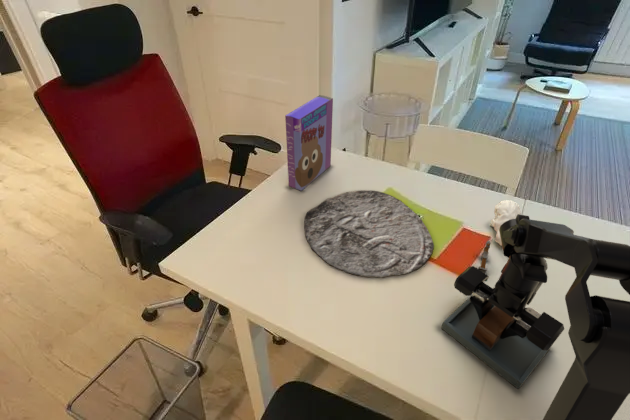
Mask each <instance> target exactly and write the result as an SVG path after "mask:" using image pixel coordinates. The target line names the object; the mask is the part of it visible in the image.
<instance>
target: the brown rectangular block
mask: <svg viewBox="0 0 630 420" xmlns="http://www.w3.org/2000/svg"><path fill="white" fill-rule="evenodd" d="M514 321H515V318H513V317H511V316H509V315H508V314H506V313H505V312H503V311H502V310H501V309H499V308H498V307H496V306H494V307H493V308H492V309H491V310H490V311H489V312H488V313H487V314H486V315H485V316H484V317H483V318H482V319H481V320H480V321H479V322H478V324H477V326H476V328H475V330H474V332H473V334H472V338H473V339H475V340H476V341H477V342H478V343H480V344H481V345H482V346H484V347H485V348H486V349H487V350H489V351H490V350H491V349H492V348H493V347H494V346H495V344H496V343H497V342H498V341H499V340H500V339H501V338H500V337H501V335H502V334H503V333H504V332H505V330H506V329H507V328H508V327H509V326H510V325H511V324H512V323H513V322H514Z"/></svg>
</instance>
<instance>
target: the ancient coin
mask: <svg viewBox="0 0 630 420" xmlns="http://www.w3.org/2000/svg"><path fill="white" fill-rule="evenodd" d="M303 223H304V224H303V225H304V226H303V228H304V234H305V239H306V241H307V243H308V244H309V245H310V248H311V250H312V251H313V252H314V253H315V254H316V255H318V257H320V259H322V260H323V261H324V262H325V263H327V264H328V265H330V266H332V267H333V268H336V269H338V270H340V271H343V272H345V273H348V274H351V275H355V276H361V277H365V278H385V277H389V276H402V275H406V274H409V273H411V272H415V271H417V270H418V269H420V268H421V267H422V266H424V265H425V264H426V263H427V262H428V261H429V259H430V258H431V256H432V255H433V251H434V247H435V244H434V241H433V238H432V236H431V233H430V231H429V230H428V227H427V226H426V224H425V223H424V221H423V220H422V219H421V217H420V216H419V215H418V213H415V211H413V209H411V208H410V207H409V206H407V205H406V204H405V203H404V202H402V200H400V199H399V198H396V197H395V196H394V195H391V194H388V193H385V192H382V191H378V190H369V189H368V190H367V189H365V190H361V189H360V190H352V191H346V192H343V193H340V194H337V195H334V196H332V197H328V198H326V199H325V200H323V201H322V202H321V203H319V204H318V205H316V206H314V207H312V208H311V209H309V210H308V211H306V213H305V216H304V222H303Z"/></svg>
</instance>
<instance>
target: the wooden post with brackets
mask: <svg viewBox="0 0 630 420" xmlns="http://www.w3.org/2000/svg"><path fill="white" fill-rule="evenodd" d="M491 243H492V242H491V240H487V241H486V242H485V246H484V247H483V252H482V253H481V263H480V266H478V268H477V269H479V270H480V271H482V272H483V273H485V274H486V272H487V270H488V269H487V268H486V266H487V265H486V264H487V260H488V257H489V249H490V248H491Z"/></svg>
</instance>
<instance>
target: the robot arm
mask: <svg viewBox="0 0 630 420" xmlns="http://www.w3.org/2000/svg"><path fill="white" fill-rule="evenodd" d="M499 231H500V237H501V242H502V246H501V248H502V253H503V256H504V257H506V258H507V261H506V263H505V264H504V265H503V267H502V269H501V271H500V273H501V274H500V275H499V278H498V280H497V281H496V282H495V284H494V287H491V286H490V285H488V284H487V283H486V282H487V281H488V280H489V279H490V275H488V274H487V273H486V272H485V273H484V272H482V271H480V270H479V269H478V268H477V267H475V266H474V265H471V266H468V267H467V268H466V269H465V270H464V271H463V272H461V273H460V274H458V276H457V277H456V279H455V280H454V282H453V286H454V289H456V290H457V291H459V292H460V293H461V294H462V295H464V296H466V297H469V298H470V299H469V298H468V299H469V300H470V302H472V303H473V305H474V307H475V309H476V312H477V314H478V317H479V320H481V319H482V318H483V317H484V316H485V315H486V314H487V313H488V312H489V311H490V309H491V306H492V304H493V305H495V306H496V307H498V308H499V309H501V310H502V311H503V312H505V313H506V314H508V315H509V316H511V317H513V318H515V319H516V320H515V321H514V322H513V323H512V324H511V325H510V326H509V327H508V328H507V329H506V330H505V332H504V333H503V334H502V335H501V337H500V338H501V339H504V338H507V337H510V336H519V337H521V338H525V337H526V336H527V338H528V340H529V341H531V342H532V343H533V344H535V345H536V346H538V347H539V348H540V349H542V350H545V351H548V352H549V350H550V349H551V348H552V346H553V345H554V343H556V341H557V340H558V338H560V336H561V334H562V333H563V332H564V331H565V326H564V323H562V322H561V321H559V320H558V319H556V318H555V317H553V316H551V315H550V314H548V313H547V312H545V311H543V312H542V313H539V312H538V311H536V310H535V309H533V308H531V307H526V306H529V305H530V304H531V303H532V302H533V300H534V298H535V296H536V295H537V292H538V291H539V289H540V288H541V287H542V285H543V284H546V283H547V282H548V273H547V270H548V263H547V260H554V261H557V262H559V263H562V264H565V265H567V266H570V267H571V268H574V272H575V276H576V277H575V279H574V280H573V282H572V284H571V286H570V287H569V289H568V291H566V294H565V295H564V300H565V301H564V302H565V304H566V309H567V314H568V321H569V325H570V326H569V329H568V332H567V334H568V338H569V340H570V343H571V346H572V349H573V353H574V355H575V357H574V361H573V362H572V364H571V366H570V368H569V369H568V371H567V373H566V376H565V377H564V379H563V380H562V383H561V385H560V386H559V389H558V390H557V392H556V394H555V395H554V398H553V399H552V401H551V403H550V405H549V407H548V408H547V411H546V412H545V414H544V416H543V418H542V420H612V419H613V418H614V417H615V416H616V414H617V413H618V411H619V409H620V408H621V406H622V405H623V403H624V402H625V400H626V399H627V397H628V396H629V395H630V301H628V300H625V299H624V300H623V299H620V298H619V299H618V298H612V297H607V296H603V295H591V294H590V290H589V286H588V282H587V281H588V280H589V278H590V277H591V276H593V277H599V278H603V279H605V278H606V279H611V280H616V281H618V282H619V285H620V286H621V287H622V289H623V290H624V291H625V292H626V293H627V294H628V295H629V296H630V245H629V244H626V243H621V242H620V243H619V242H613V241H606V240H599V239H594V238H590V237H586V236H582V235H578V234H574V233H575V231H574V230H573V229H572V228H571V227H569V226H567V225H566V224H562V223H555V222H549V221H543V220H538V219H537V220H535V219H530V215H524V214H521V215H519V214H518V215H517V217H516V219H511V220H508V221H506V222H505V223H503V224H502V225H501V226H500V229H499ZM546 259H547V260H546ZM550 347H551V348H550ZM549 348H550V349H549Z"/></svg>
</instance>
